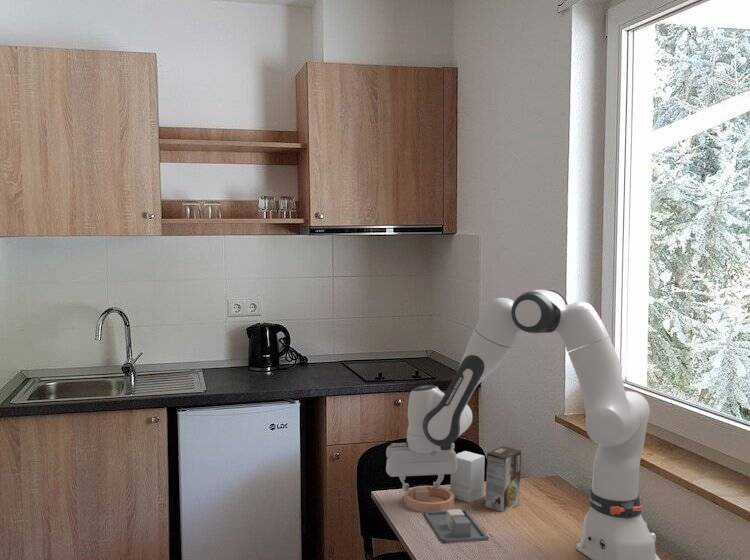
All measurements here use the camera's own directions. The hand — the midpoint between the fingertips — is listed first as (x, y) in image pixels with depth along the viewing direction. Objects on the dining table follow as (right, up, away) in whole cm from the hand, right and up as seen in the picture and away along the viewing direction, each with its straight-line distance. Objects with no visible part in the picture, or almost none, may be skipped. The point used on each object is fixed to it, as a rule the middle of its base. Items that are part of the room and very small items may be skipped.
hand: (421, 489), depth 224 cm
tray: (+8, -6, -15) cm, 18 cm away
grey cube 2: (+9, -6, -21) cm, 23 cm away
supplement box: (+14, -4, +7) cm, 16 cm away
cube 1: (0, -4, 0) cm, 4 cm away
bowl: (+2, -5, +1) cm, 5 cm away
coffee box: (+23, -5, +1) cm, 24 cm away
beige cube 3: (+8, -6, -15) cm, 18 cm away
